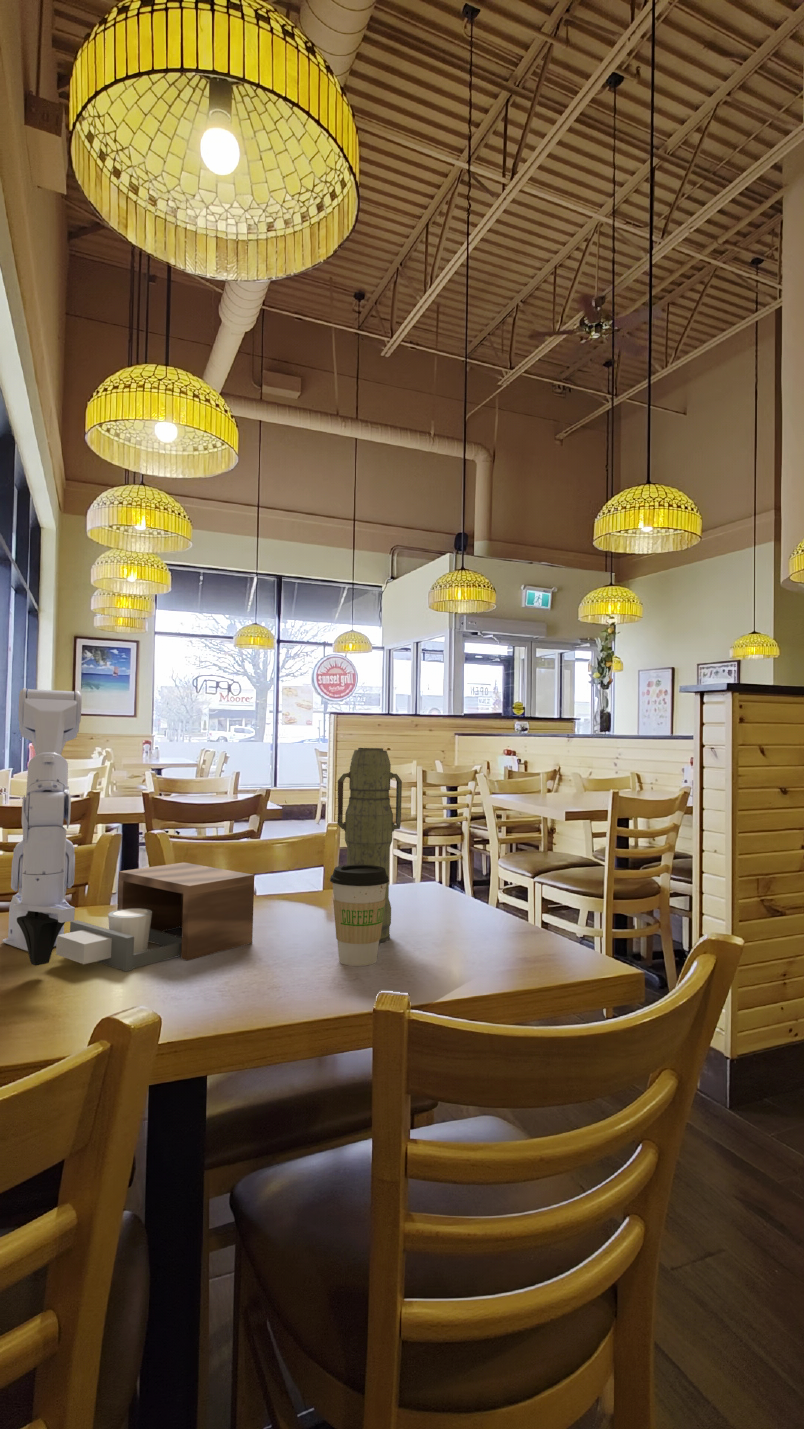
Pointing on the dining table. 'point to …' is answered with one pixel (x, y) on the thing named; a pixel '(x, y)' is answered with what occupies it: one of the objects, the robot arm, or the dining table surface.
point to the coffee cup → (358, 911)
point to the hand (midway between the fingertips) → (39, 963)
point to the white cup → (132, 925)
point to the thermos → (370, 815)
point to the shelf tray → (114, 946)
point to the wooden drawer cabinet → (193, 904)
